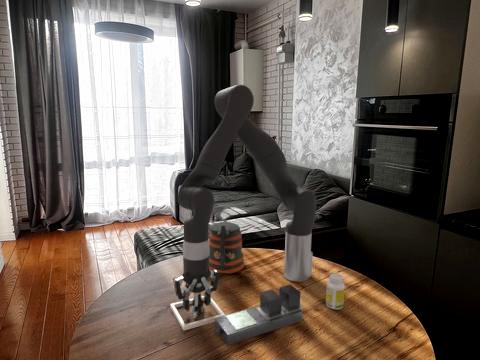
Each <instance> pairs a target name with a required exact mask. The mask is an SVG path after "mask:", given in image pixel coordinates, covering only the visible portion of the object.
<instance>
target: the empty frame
mask: <svg viewBox="0 0 480 360" xmlns="http://www.w3.org/2000/svg"><path fill="white" fill-rule="evenodd" d="M193 299H194V297H193V298H190V299H189V305H191V304H192V301H193ZM201 300H203V302H204V295H201ZM169 305H170V309H171V311H172V313H173V315H174V316H175V319H176V320H177V322H178V324H179V325H180V327H181V330H182V331H183V332H184V331H187V330H190V329H194V328H197V327H201V326H205V325H208V324H211V323H215V318H218V317H221V316H225V315H226V314H225V313H224V312H223V310H222V309H221V308H220V306H219V305H218V304H217V303H216V302H215V301H214V299H213V298H212V297H211V302H210V303H209V305H211V306H212V308H213V309H214V310H215V312H216V313H217V314H218V315H214V316H211V317H206V318H204V319H203V318H202V319H200V320H197V321H192V322H189V323H185V322H184V319H183V318H182V316H181V315H180V313H179V311H178V309H177V308H179V307H183V300H182V301H181V300H180V301H177V302H173V303H170V304H169ZM192 305H193V304H192Z"/></svg>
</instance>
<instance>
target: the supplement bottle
mask: <svg viewBox="0 0 480 360" xmlns="http://www.w3.org/2000/svg"><path fill="white" fill-rule="evenodd" d="M345 287H346V286H345V283H344V276H343V275H341V274H340V273H330V274H329V280H328V281H327V282H326V292H325V305H326V306H327V308H329V309H333V310H341V309H343V307H344V304H345V303H344V302H345V290H346V289H345Z"/></svg>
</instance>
